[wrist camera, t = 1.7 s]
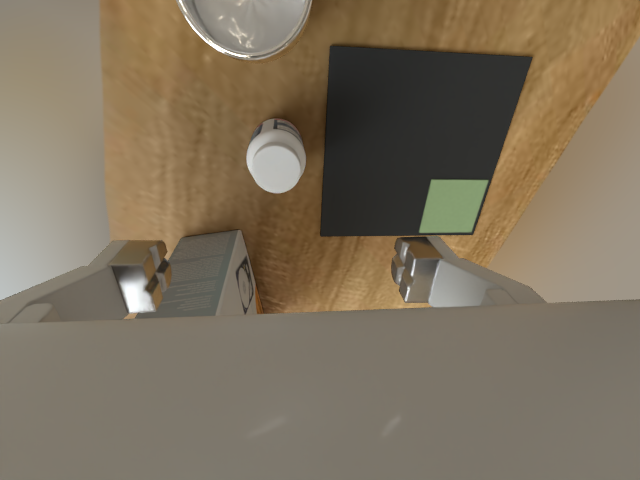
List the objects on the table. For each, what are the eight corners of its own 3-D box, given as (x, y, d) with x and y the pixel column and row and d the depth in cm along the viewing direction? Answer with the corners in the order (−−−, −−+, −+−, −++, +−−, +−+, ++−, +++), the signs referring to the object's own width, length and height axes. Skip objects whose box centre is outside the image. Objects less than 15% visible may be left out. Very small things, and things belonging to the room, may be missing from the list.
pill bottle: (262, 174, 34) (256, 208, 26) (243, 126, 31) (231, 149, 24) (308, 160, 34) (315, 190, 26) (293, 110, 31) (297, 128, 24)
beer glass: (315, 39, 28) (341, 25, 15) (248, 74, 29) (219, 89, 16) (279, -56, 25) (274, -177, 12) (204, -12, 26) (124, -81, 13)
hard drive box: (267, 320, 45) (257, 481, 28) (214, 328, 45) (172, 495, 28) (242, 226, 37) (206, 371, 20) (177, 235, 37) (86, 390, 20)
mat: (329, 45, 29) (330, 45, 28) (530, 56, 31) (534, 57, 30) (320, 235, 39) (320, 237, 38) (471, 233, 41) (473, 235, 40)
